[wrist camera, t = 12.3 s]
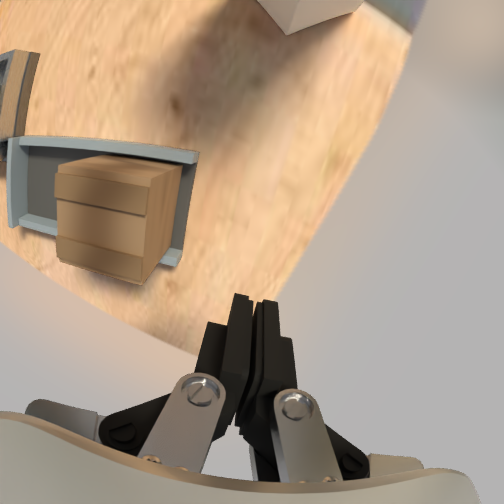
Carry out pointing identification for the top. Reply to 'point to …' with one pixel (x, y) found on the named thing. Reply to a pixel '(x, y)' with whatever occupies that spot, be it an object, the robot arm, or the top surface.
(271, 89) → the top surface
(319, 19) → the milk carton
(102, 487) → the robot arm
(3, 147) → the gray square tray
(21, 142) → the bay
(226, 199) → the top surface
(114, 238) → the crate
